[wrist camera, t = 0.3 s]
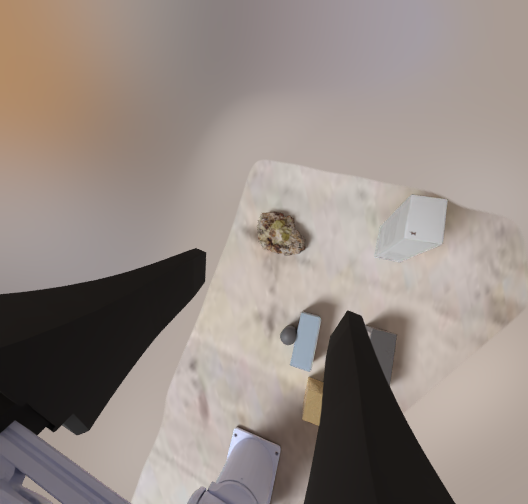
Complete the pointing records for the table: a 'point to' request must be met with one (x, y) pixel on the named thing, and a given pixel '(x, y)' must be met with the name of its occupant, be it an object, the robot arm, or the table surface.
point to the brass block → (313, 401)
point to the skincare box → (412, 228)
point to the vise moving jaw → (303, 340)
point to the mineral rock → (279, 234)
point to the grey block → (383, 348)
